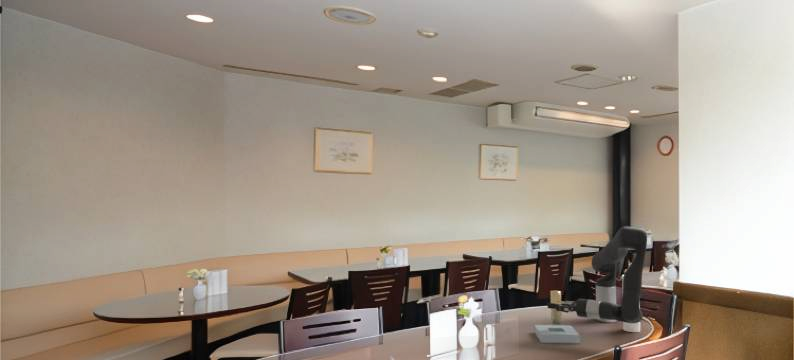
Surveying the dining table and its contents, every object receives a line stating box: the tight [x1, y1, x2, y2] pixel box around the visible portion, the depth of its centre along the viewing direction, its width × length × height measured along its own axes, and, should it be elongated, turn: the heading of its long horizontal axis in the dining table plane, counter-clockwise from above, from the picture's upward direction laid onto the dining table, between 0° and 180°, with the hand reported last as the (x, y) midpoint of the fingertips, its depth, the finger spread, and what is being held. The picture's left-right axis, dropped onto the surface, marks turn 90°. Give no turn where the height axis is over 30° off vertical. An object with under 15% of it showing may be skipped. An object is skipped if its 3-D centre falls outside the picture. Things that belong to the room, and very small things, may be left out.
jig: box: [534, 324, 581, 344], centre depth 222 cm, size 16×16×4 cm
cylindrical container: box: [621, 274, 641, 333], centre depth 234 cm, size 7×7×25 cm
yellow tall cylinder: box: [549, 290, 563, 325], centre depth 222 cm, size 4×4×14 cm
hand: (549, 304), depth 224 cm, fingers closed on yellow tall cylinder, 4 cm apart
